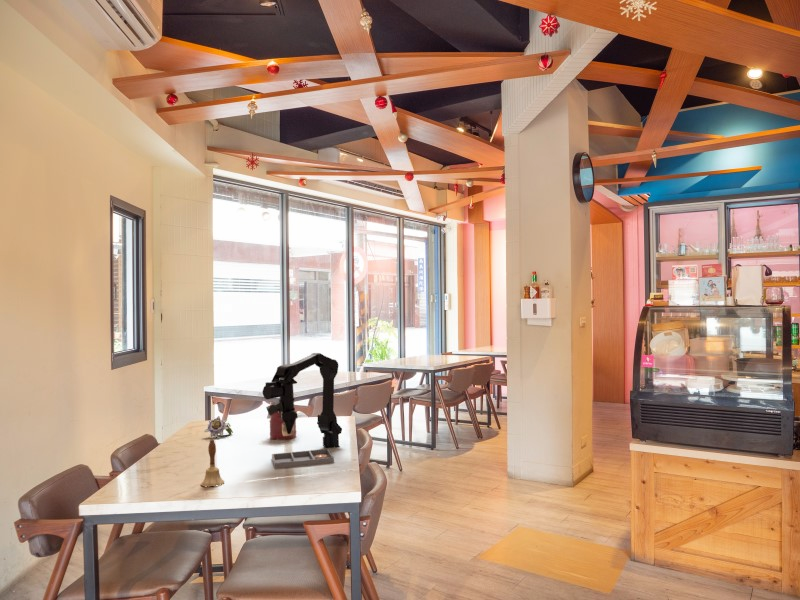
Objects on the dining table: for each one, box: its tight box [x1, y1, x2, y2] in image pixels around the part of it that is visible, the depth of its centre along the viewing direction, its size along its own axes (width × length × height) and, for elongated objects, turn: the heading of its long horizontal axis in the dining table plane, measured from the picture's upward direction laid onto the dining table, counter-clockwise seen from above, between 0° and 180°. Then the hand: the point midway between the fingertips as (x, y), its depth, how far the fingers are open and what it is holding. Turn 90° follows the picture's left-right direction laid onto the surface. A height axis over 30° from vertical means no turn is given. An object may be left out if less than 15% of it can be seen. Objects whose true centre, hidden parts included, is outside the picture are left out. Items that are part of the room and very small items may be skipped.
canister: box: [269, 412, 297, 440], centre depth 288 cm, size 13×13×18 cm
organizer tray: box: [271, 448, 335, 470], centre depth 238 cm, size 23×16×2 cm
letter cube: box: [282, 423, 294, 436], centre depth 244 cm, size 4×4×5 cm
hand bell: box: [200, 439, 225, 487], centre depth 211 cm, size 8×8×16 cm
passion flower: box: [204, 415, 234, 439], centre depth 296 cm, size 11×11×12 cm
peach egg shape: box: [315, 454, 327, 459], centre depth 240 cm, size 5×5×1 cm
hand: (288, 432), depth 244 cm, fingers closed on letter cube, 4 cm apart
